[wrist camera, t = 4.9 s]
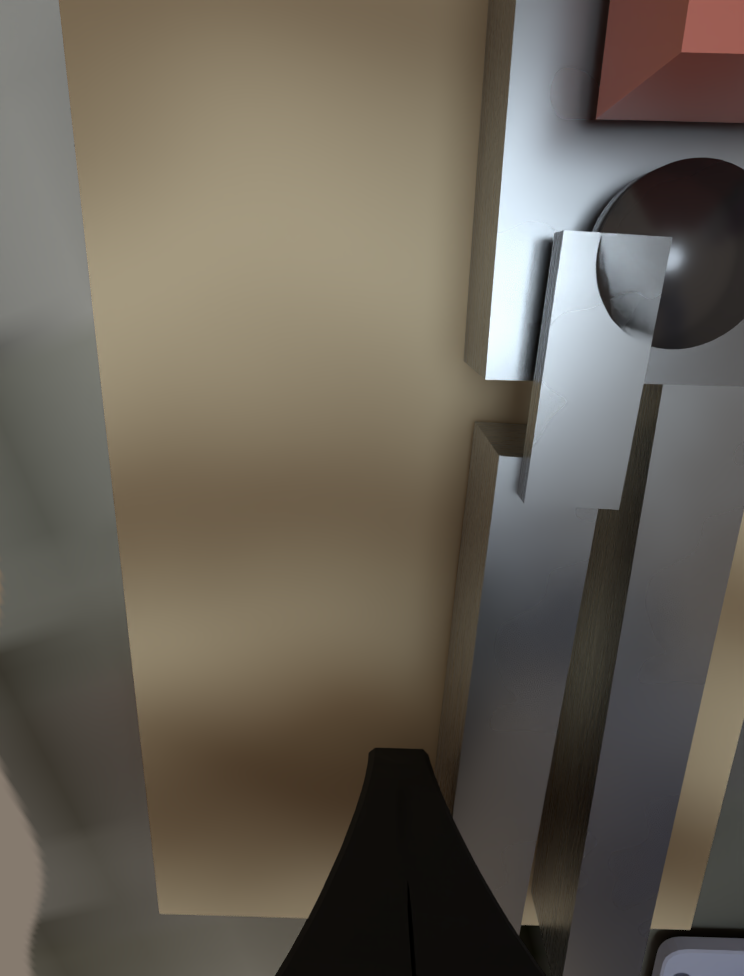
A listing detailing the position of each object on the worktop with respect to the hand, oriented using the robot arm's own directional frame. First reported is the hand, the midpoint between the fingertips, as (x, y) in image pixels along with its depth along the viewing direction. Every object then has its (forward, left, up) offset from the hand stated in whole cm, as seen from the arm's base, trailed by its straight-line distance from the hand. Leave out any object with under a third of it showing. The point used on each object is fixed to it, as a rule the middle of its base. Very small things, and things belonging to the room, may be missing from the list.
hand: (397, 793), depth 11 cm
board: (+4, -1, -3) cm, 5 cm away
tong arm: (+3, -2, -1) cm, 4 cm away
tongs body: (+5, -3, -1) cm, 5 cm away
